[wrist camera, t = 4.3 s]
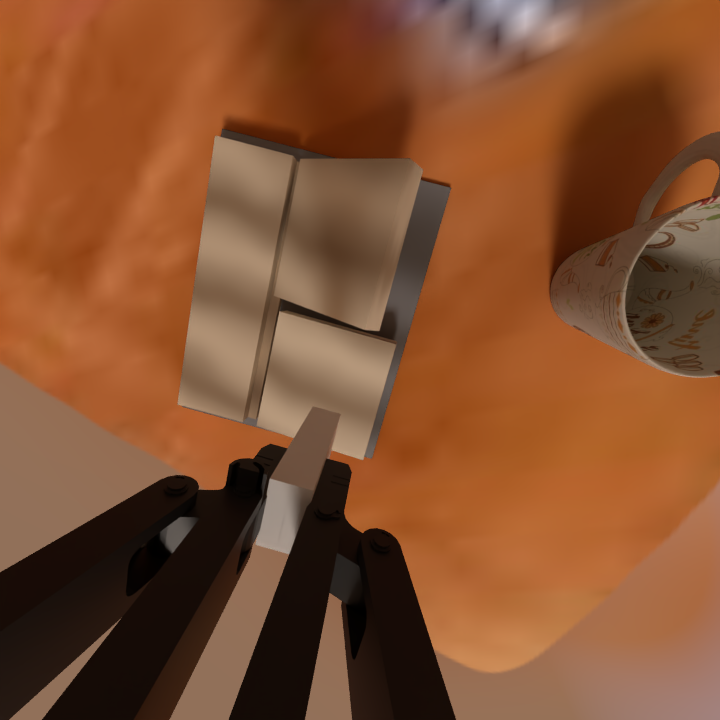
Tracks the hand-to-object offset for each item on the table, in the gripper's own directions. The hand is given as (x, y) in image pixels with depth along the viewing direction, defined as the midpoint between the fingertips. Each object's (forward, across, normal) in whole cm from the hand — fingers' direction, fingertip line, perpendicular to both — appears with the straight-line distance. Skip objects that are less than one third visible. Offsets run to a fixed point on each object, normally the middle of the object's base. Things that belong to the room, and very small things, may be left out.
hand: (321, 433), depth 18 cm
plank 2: (+10, -1, -1) cm, 10 cm away
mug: (+11, +16, +14) cm, 24 cm away
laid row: (+11, -5, +5) cm, 13 cm away
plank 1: (+8, -2, +10) cm, 13 cm away
